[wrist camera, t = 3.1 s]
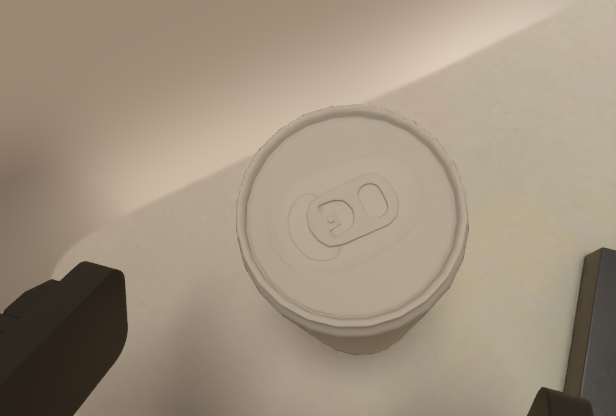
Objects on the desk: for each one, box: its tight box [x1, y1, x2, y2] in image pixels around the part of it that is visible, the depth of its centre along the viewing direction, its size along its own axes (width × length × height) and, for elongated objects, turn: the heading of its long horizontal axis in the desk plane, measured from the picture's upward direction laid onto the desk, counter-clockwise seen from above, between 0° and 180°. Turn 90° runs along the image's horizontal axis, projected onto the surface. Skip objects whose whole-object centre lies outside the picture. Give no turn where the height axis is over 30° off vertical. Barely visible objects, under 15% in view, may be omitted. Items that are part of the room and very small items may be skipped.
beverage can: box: [236, 105, 469, 355], centre depth 17 cm, size 5×5×12 cm
